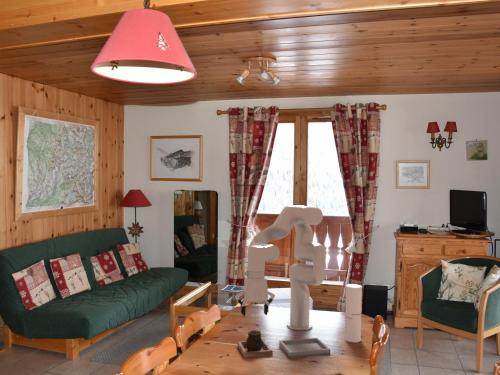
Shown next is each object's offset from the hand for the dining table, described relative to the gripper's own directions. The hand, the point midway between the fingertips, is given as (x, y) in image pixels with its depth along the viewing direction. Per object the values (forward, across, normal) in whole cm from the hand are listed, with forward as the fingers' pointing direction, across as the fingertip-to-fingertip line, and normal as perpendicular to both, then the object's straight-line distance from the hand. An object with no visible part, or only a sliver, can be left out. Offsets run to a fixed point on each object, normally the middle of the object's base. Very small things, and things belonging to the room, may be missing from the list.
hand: (254, 314), depth 192 cm
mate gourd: (+16, +1, +1) cm, 16 cm away
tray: (+15, +22, -4) cm, 27 cm away
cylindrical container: (+15, +49, +4) cm, 51 cm away
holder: (+16, +1, 0) cm, 16 cm away
